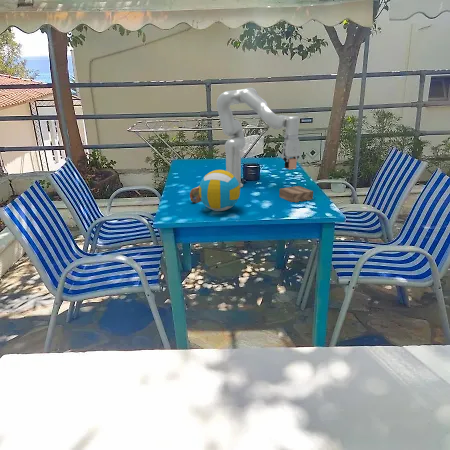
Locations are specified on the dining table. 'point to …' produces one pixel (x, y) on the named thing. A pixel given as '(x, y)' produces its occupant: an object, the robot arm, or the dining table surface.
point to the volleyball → (219, 190)
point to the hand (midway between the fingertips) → (290, 167)
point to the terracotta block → (292, 163)
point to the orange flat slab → (195, 195)
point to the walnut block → (296, 194)
